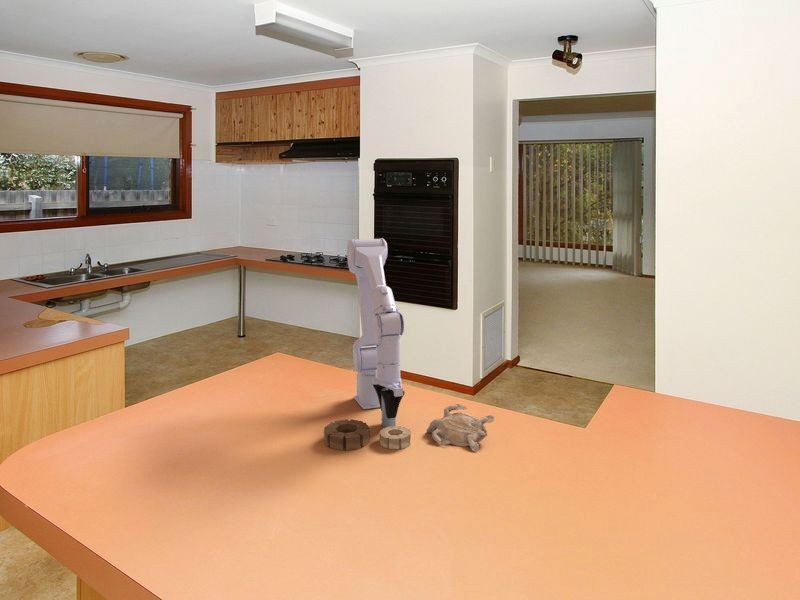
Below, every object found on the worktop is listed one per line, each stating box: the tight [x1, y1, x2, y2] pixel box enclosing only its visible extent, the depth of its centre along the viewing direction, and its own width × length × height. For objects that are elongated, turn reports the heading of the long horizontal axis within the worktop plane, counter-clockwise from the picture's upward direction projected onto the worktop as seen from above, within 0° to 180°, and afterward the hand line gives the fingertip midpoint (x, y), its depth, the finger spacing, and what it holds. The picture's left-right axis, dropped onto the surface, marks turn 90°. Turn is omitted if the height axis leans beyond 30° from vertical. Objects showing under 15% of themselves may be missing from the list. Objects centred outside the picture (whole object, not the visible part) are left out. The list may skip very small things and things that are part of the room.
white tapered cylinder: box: [381, 388, 397, 428], centre depth 147 cm, size 3×3×9 cm
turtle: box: [425, 403, 495, 453], centre depth 138 cm, size 16×10×10 cm, turn 85°
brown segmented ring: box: [323, 418, 371, 451], centre depth 138 cm, size 10×10×3 cm
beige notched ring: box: [379, 425, 412, 450], centre depth 137 cm, size 7×7×2 cm
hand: (388, 414), depth 147 cm, fingers closed on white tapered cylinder, 3 cm apart
